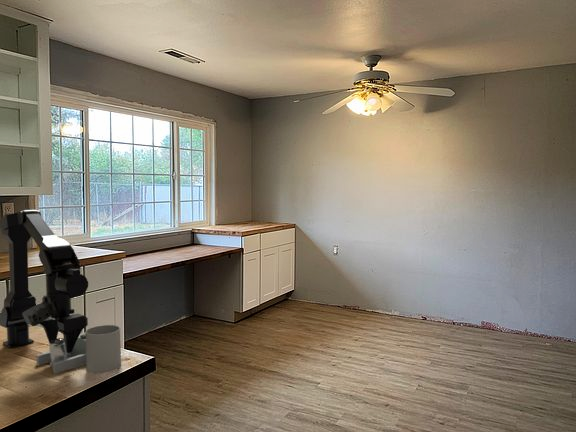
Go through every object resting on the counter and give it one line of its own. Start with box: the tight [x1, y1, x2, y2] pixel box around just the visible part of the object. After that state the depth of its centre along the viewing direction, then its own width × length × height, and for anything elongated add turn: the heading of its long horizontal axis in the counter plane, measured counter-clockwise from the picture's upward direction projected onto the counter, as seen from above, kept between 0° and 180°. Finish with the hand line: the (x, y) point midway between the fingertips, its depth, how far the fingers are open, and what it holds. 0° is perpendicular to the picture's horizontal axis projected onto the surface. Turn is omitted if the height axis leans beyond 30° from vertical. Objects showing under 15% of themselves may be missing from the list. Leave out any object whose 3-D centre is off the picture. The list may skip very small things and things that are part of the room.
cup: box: [84, 324, 122, 374], centre depth 119 cm, size 8×8×10 cm
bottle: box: [48, 337, 72, 369], centre depth 121 cm, size 5×5×7 cm
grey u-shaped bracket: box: [35, 332, 87, 375], centre depth 123 cm, size 10×14×6 cm
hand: (60, 348), depth 121 cm, fingers open, 9 cm apart
